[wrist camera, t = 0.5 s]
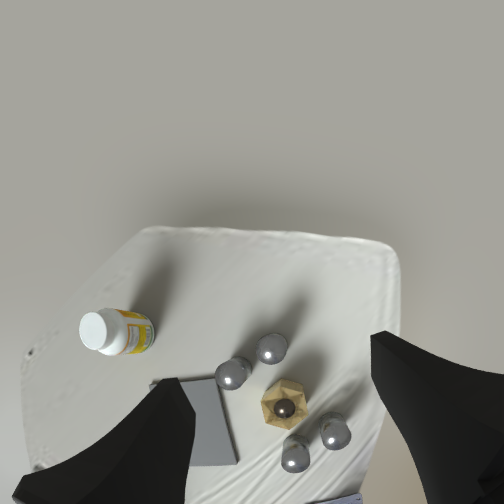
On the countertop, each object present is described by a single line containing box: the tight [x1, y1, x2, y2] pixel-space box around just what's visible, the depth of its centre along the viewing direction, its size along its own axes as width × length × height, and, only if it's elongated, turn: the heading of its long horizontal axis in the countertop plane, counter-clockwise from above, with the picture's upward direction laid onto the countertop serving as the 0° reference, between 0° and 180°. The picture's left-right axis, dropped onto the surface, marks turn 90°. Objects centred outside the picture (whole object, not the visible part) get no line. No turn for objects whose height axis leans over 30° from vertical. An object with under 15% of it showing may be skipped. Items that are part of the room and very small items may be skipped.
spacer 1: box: [215, 357, 252, 390], centre depth 28 cm, size 3×3×5 cm
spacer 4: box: [319, 412, 351, 450], centre depth 25 cm, size 3×3×5 cm
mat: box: [149, 378, 238, 466], centre depth 29 cm, size 12×9×1 cm
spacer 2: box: [256, 333, 287, 365], centre depth 28 cm, size 3×3×5 cm
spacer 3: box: [281, 434, 310, 473], centre depth 25 cm, size 3×3×5 cm
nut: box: [261, 379, 308, 430], centre depth 27 cm, size 5×4×4 cm
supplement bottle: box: [79, 308, 154, 355], centre depth 29 cm, size 5×5×10 cm
